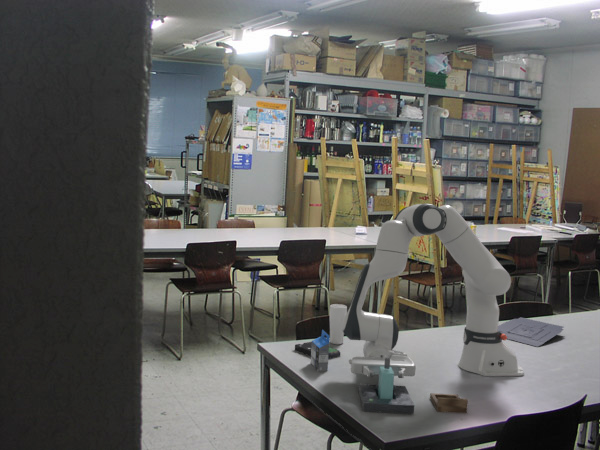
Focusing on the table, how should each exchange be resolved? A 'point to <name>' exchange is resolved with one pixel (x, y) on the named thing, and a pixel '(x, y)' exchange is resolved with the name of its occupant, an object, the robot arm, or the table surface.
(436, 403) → the open wooden frame
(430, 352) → the table surface
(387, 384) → the plug
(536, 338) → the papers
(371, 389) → the port block
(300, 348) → the disk drive
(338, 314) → the drinking glass
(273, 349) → the table surface
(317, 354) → the blue product box
